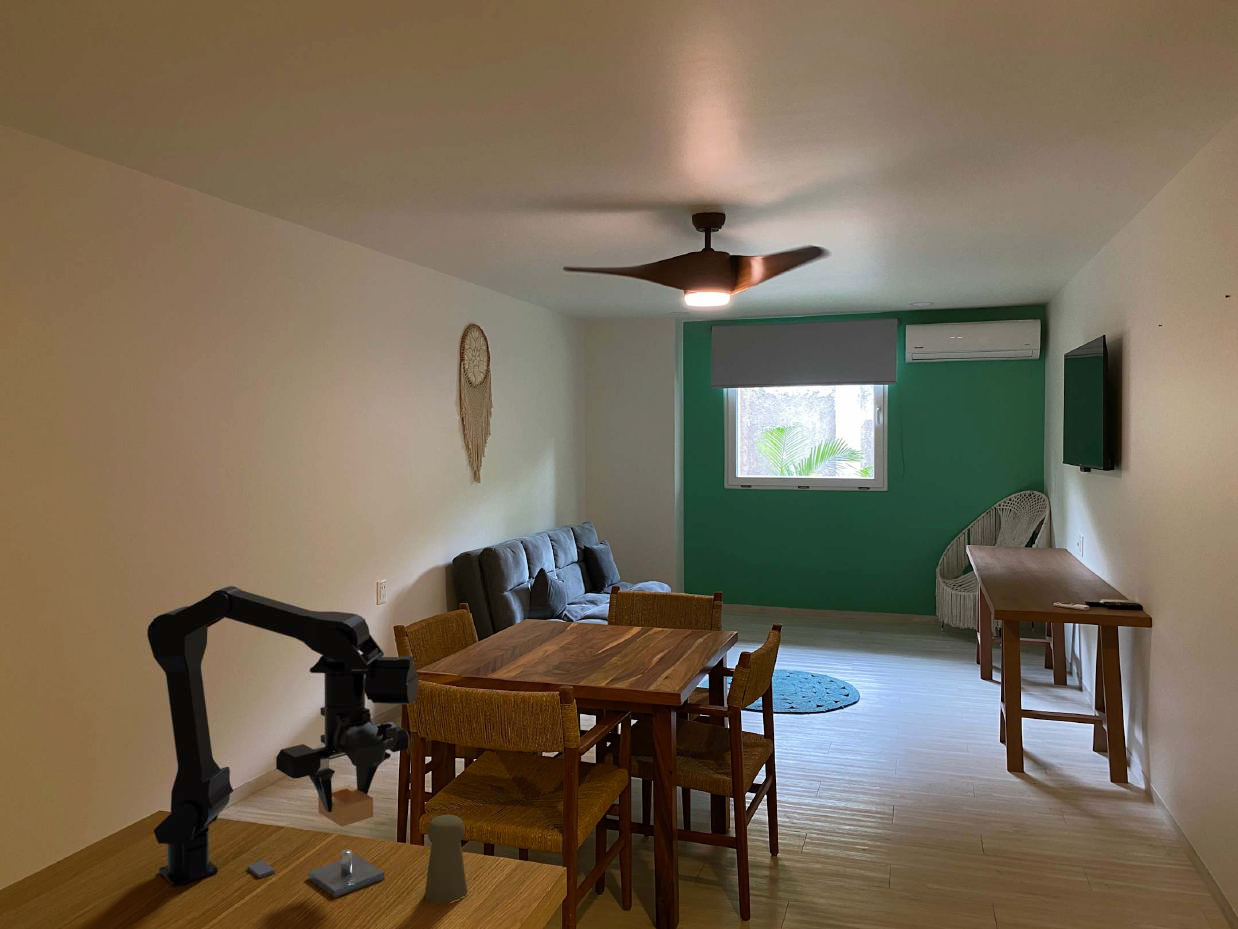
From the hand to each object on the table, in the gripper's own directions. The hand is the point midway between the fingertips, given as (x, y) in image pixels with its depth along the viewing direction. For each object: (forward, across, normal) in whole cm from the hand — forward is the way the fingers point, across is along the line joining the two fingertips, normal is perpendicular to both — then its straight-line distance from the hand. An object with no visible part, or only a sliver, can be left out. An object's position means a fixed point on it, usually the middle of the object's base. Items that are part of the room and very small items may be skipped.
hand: (345, 806), depth 138 cm
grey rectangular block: (+11, -8, +11) cm, 17 cm away
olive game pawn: (+11, +8, -14) cm, 20 cm away
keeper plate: (+11, 0, 0) cm, 11 cm away
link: (+1, 0, 0) cm, 1 cm away
